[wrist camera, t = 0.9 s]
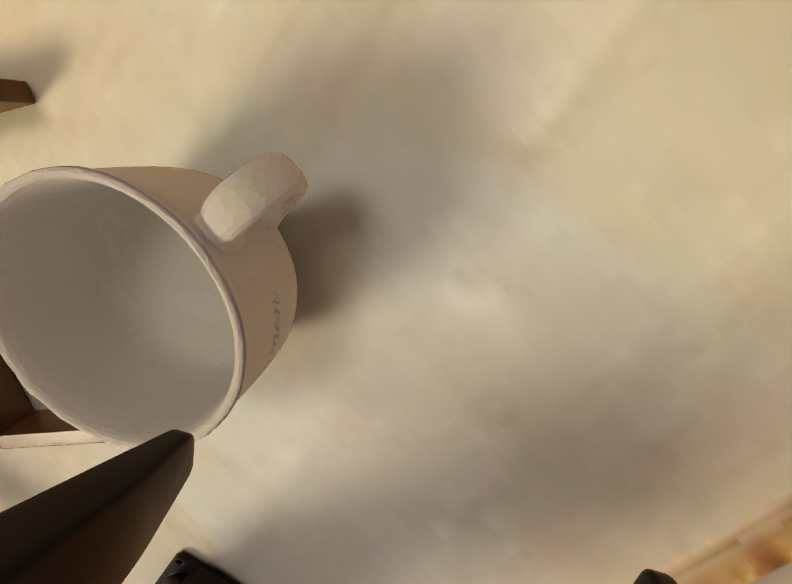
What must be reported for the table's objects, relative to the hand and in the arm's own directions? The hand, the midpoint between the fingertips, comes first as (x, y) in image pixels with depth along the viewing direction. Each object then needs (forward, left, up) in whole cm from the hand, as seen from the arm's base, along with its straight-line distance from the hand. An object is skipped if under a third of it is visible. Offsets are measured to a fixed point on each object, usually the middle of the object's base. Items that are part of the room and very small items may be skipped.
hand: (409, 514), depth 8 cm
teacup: (-5, +9, -14) cm, 17 cm away
